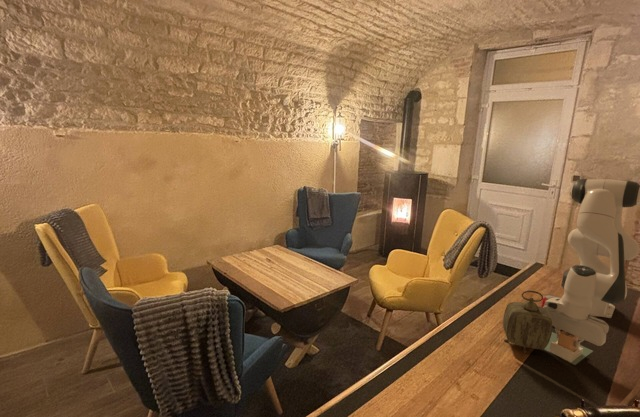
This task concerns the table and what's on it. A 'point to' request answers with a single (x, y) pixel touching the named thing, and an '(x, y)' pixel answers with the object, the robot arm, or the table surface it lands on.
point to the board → (585, 350)
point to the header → (565, 352)
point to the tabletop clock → (527, 324)
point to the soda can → (547, 299)
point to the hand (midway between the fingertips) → (567, 342)
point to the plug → (567, 340)
